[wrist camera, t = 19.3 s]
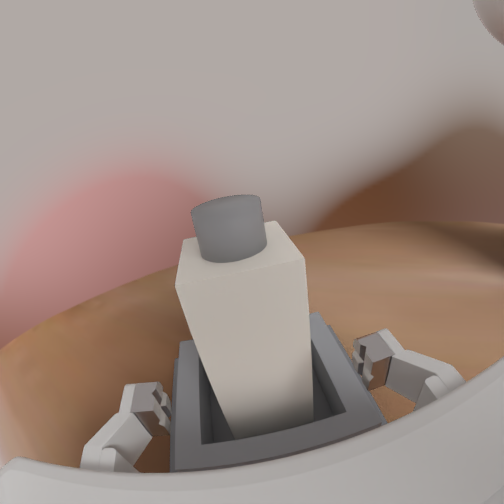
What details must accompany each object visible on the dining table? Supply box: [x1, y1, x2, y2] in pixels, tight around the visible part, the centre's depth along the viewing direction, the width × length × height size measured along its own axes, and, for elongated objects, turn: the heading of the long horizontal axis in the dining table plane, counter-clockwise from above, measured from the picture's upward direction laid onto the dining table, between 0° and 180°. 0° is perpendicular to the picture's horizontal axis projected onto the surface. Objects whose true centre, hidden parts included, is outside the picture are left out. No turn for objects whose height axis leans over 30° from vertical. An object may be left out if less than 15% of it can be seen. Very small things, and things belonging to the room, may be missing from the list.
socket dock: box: [170, 312, 388, 473], centre depth 18 cm, size 14×14×4 cm
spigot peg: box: [175, 195, 314, 440], centre depth 15 cm, size 5×5×14 cm
